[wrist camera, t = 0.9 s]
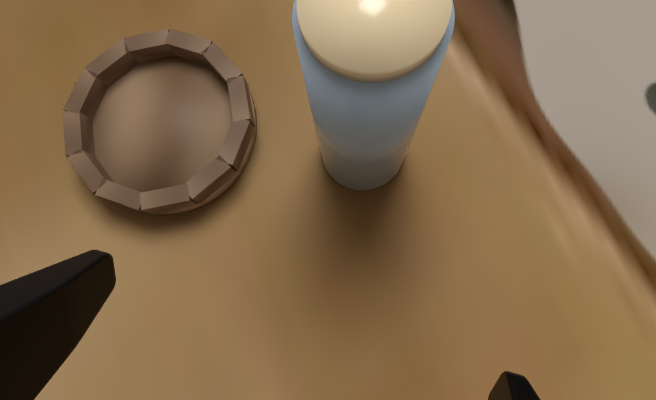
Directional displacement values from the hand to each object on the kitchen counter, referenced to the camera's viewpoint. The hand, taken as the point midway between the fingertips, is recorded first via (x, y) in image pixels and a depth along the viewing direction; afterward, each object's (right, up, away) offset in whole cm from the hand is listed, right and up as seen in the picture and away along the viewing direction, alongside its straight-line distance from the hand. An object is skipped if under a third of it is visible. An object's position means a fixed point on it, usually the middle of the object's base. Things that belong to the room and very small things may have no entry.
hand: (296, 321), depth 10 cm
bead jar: (+3, +6, +14) cm, 16 cm away
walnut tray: (-8, +7, +15) cm, 19 cm away
